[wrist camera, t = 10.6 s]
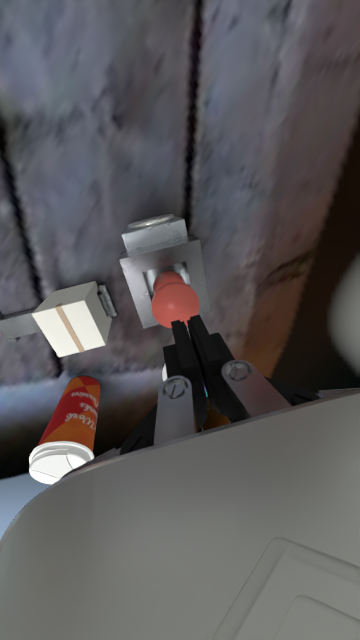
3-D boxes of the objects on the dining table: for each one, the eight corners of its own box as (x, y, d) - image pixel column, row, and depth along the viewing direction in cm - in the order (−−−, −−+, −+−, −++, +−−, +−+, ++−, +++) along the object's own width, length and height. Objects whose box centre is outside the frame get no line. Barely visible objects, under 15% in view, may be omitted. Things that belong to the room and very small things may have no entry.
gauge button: (144, 273, 19) (145, 291, 15) (183, 263, 19) (195, 279, 15) (155, 308, 21) (159, 333, 17) (191, 299, 21) (202, 321, 17)
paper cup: (114, 392, 41) (103, 472, 29) (78, 407, 41) (52, 493, 29) (91, 364, 37) (67, 443, 25) (51, 381, 37) (8, 467, 25)
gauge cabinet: (122, 223, 27) (111, 236, 17) (175, 210, 28) (196, 215, 17) (145, 296, 33) (147, 340, 22) (189, 284, 33) (212, 323, 23)
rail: (-9, 312, 30) (-16, 317, 29) (105, 283, 31) (103, 286, 29) (12, 340, 33) (7, 346, 31) (117, 313, 33) (116, 318, 32)
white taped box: (53, 291, 30) (30, 313, 24) (95, 280, 30) (83, 300, 24) (73, 329, 33) (59, 358, 27) (111, 319, 33) (105, 345, 27)
